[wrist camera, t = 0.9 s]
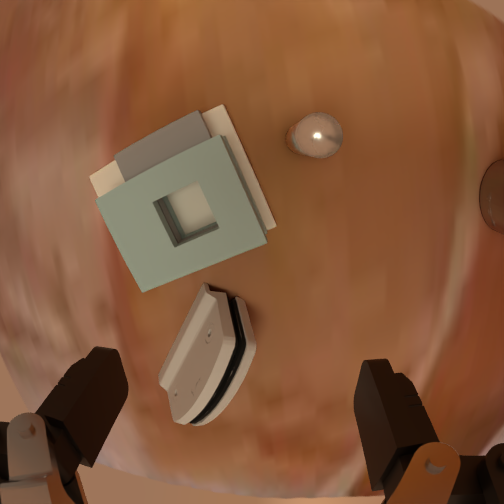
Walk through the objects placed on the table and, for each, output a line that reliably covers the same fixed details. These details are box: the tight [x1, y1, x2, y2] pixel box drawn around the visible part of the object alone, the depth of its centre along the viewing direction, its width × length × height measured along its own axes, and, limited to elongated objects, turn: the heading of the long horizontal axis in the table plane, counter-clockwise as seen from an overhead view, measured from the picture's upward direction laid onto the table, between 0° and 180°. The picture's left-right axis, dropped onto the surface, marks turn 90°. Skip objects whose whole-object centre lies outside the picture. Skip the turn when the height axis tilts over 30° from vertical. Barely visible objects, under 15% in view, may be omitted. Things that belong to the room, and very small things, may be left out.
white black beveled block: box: [158, 283, 256, 426], centre depth 34 cm, size 17×5×10 cm, turn 153°
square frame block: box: [89, 104, 276, 293], centre depth 29 cm, size 16×13×5 cm
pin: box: [285, 112, 343, 158], centre depth 24 cm, size 3×3×11 cm
